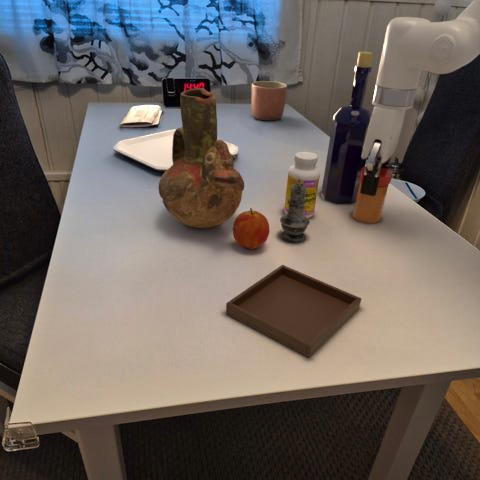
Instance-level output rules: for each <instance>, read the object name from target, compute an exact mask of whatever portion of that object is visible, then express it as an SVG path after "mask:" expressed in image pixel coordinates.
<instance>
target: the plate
mask: <svg viewBox="0 0 480 480" xmlns="http://www.w3.org/2000/svg"><path fill="white" fill-rule="evenodd" d="M176 129H177V128H176ZM176 129H169V130H164V131H159V132H154V133H151V134H150V133H149V134H146V135H142V136H136V137H133V138H128V139H123V140H119V141H117V142H116V143H115V145H114V146H113V148H112V150H113V152H116V153H118V154H120V155H122V156H124V157H126V158H128V159H131V160H133V161H135V162H137V163H139V164H141V165H144V166H146V167H148V168H151V169H152V170H154V171H157V172H162V173H165V171H166V170H167V169H169V168H170V167H171V166H172V165H173V160H172V147H173V135H174V132H175V131H176ZM217 140H220V139H219V138H217ZM224 142H225V143H226V144H227V146H228V149H229V152H230V153H231V154H232V155H233V158H234V157H236V156H238V155H239V147H238V146H237V145H235V144H232V143H230V142H227V141H224Z"/></svg>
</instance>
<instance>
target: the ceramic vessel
mask: <svg viewBox="0 0 480 480" xmlns="http://www.w3.org/2000/svg"><path fill="white" fill-rule="evenodd" d="M179 102H180V108H179V109H180V117H181V124H182V125H181V126H180V127H178V128H176V131H175V132H174V135H173V147H172V160H173V165H172V166H171V167H170V168H169V169H167V170H166V171H165V172H163V174H162V175H161V177H160V178H159V181H158V193H159V197H160V198H161V199H162V204H163V206H164V208H165V210H166V211H167V212H168V213H169V214H171V215H172V216H173V217H174V218H175V219H176V220H177V221H179V223H181V224H182V225H184V226H188V227H193V228H198V229H205V228H206V229H207V228H211V227H214V226H219V225H221V224H223V223H225V222H226V221H228V220H229V219H231V217H233V215H234V214H235V213H236V211H237V210H238V208H239V207H240V204H241V202H242V197H243V191H244V190H245V180H244V179H243V176H242V175H241V173H240V171H238V170H237V169H236V168H235V165H234V163H235V161H234V157H233V155H232V154H231V153H230V152H229V149H228V146H227V144H226V143H225V142H226V141H224V140H223V139H219V140H217V139H218V114H217V113H218V112H217V99H216V97H215V96H214V93H213V92H211V91H208V90H206V89H205V88H203V87H194V88H189V89H186V90H184V91H182V92H180V95H179Z"/></svg>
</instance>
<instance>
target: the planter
mask: <svg viewBox="0 0 480 480" xmlns="http://www.w3.org/2000/svg"><path fill="white" fill-rule="evenodd" d="M287 90H288V84H287V83H284V82H280V81H273V80H259V81H253V82H251V99H250V100H251V103H250V104H251V114H252V116H253V117H255V119H257V120H262V121H276V120H279V119H280V118H282V117H283V114H284V111H285V107H286V106H285V105H286V100H287V92H288V91H287Z"/></svg>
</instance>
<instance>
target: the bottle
mask: <svg viewBox="0 0 480 480" xmlns="http://www.w3.org/2000/svg"><path fill="white" fill-rule="evenodd" d="M373 56H374V52H371V51H358V53H357V61H356V65H354V68H353V69H354V78H353V84H352V91H351V97H350V104H349V105H348V104H347V105H344V106H341V107H340V108H339V109H338V110H337V111H336V113H334V115H333V118H332V122H331V129H330V136H329V142H328V149H327V155H326V160H325V166H324V172H323V179H322V185H321V190H320V191H321V192H320V196H321V197H322V199H323V201H327V202H330V203H333V204H336V205H352V204H355V201H356V196H357V191H358V186H359V182H360V179H359V176H360V172H361V168H363V167H366V165H367V160H368V157H367V158H366V159H362V157H361V155H362V151H363V147H364V143H365V139H366V135H367V131H368V127H369V123H370V119H371V116H372V112H371V110H370V109H369V108H368V107H366V106H364V105H363V104H364V100H365V94H366V92H367V91H366V90H367V85H368V80H369V76H370V73H371V72H372V61H373Z"/></svg>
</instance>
